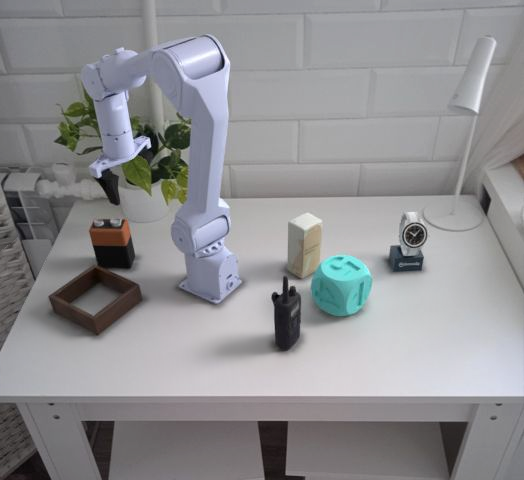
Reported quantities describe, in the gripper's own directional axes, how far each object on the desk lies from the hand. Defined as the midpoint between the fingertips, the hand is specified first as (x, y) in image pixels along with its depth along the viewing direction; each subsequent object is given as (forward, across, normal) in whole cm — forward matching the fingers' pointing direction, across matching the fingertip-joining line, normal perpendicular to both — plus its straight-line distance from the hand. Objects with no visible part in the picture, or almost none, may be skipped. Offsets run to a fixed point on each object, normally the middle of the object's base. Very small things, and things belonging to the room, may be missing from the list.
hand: (128, 194), depth 124 cm
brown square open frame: (+10, +20, +9) cm, 24 cm away
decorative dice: (+11, -5, +46) cm, 47 cm away
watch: (+11, -22, +51) cm, 57 cm away
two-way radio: (+11, +9, +43) cm, 45 cm away
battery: (+11, +8, +2) cm, 14 cm away
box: (+11, -10, +35) cm, 38 cm away
